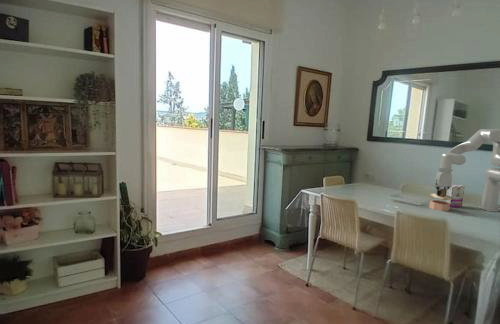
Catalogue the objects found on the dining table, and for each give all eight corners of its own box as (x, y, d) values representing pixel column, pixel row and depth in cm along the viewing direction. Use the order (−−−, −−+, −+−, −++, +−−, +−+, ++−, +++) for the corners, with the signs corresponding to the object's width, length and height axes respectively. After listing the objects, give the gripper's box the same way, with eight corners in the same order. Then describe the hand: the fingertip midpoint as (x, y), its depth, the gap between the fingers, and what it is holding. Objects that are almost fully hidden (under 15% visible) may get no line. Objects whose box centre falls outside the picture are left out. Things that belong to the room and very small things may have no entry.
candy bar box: (456, 205, 246) (459, 184, 244) (461, 207, 242) (465, 186, 239) (444, 205, 243) (447, 184, 241) (450, 207, 239) (453, 186, 236)
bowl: (441, 206, 240) (442, 200, 239) (452, 211, 228) (453, 204, 228) (426, 206, 239) (427, 199, 239) (436, 211, 228) (437, 204, 227)
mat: (466, 212, 230) (466, 211, 230) (477, 217, 219) (478, 216, 219) (451, 211, 229) (451, 210, 229) (462, 216, 218) (462, 215, 218)
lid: (443, 195, 240) (444, 187, 239) (456, 200, 226) (458, 192, 225) (425, 194, 239) (427, 186, 238) (437, 199, 225) (439, 191, 224)
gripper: (452, 170, 234) (448, 194, 237) (430, 169, 233) (427, 193, 235) (459, 172, 226) (455, 197, 229) (437, 171, 225) (433, 196, 228)
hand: (441, 195), depth 232 cm, fingers closed on lid, 3 cm apart
